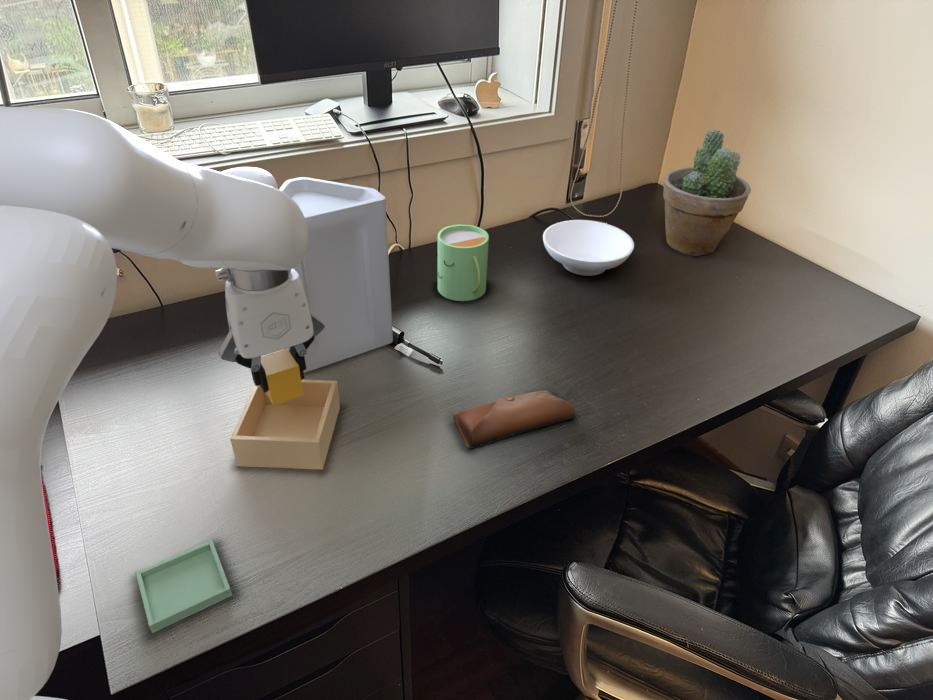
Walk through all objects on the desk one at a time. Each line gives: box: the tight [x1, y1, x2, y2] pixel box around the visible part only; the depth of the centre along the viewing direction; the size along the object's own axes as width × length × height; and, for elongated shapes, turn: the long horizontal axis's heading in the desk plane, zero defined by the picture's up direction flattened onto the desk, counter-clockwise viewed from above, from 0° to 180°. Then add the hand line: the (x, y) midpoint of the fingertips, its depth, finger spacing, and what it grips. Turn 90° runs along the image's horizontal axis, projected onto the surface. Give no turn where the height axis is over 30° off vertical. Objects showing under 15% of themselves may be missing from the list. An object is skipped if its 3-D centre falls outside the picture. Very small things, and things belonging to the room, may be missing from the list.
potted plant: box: [662, 129, 752, 257], centre depth 143 cm, size 18×19×25 cm
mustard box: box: [261, 349, 304, 406], centre depth 90 cm, size 4×4×6 cm
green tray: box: [135, 539, 233, 634], centre depth 76 cm, size 9×8×2 cm
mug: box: [435, 224, 490, 302], centre depth 128 cm, size 13×10×12 cm
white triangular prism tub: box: [278, 176, 394, 374], centre depth 109 cm, size 19×15×28 cm
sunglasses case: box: [453, 390, 575, 449], centre depth 100 cm, size 18×7×7 cm
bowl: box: [542, 219, 635, 277], centre depth 139 cm, size 20×20×7 cm
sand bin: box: [229, 379, 341, 471], centre depth 96 cm, size 13×12×6 cm
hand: (281, 379), depth 91 cm, fingers closed on mustard box, 4 cm apart
